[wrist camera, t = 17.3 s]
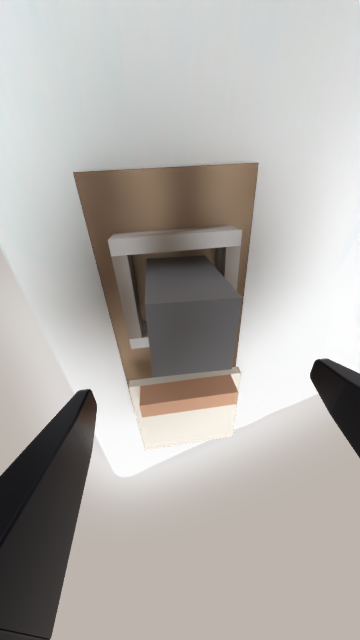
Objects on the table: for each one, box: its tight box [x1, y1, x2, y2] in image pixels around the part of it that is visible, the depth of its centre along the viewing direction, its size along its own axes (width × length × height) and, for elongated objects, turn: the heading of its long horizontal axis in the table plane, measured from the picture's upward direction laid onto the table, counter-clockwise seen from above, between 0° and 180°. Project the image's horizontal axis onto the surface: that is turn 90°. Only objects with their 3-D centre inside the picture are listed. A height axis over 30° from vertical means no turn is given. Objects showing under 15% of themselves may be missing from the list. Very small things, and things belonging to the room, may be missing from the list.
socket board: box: [73, 163, 258, 411], centre depth 19 cm, size 12×24×4 cm, turn 3°
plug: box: [145, 256, 242, 377], centre depth 14 cm, size 5×5×8 cm
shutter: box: [129, 367, 241, 450], centre depth 21 cm, size 10×10×3 cm
